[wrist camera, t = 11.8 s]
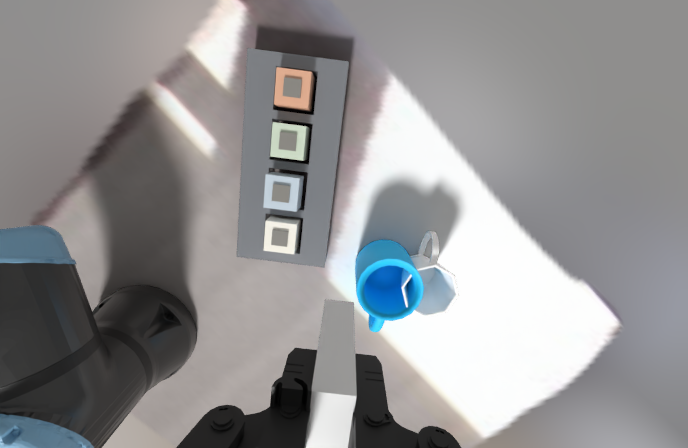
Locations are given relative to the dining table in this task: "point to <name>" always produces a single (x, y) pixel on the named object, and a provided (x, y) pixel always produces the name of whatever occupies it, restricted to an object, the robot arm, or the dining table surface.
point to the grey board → (260, 163)
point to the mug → (386, 282)
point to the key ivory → (282, 234)
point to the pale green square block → (289, 141)
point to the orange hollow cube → (294, 89)
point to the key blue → (283, 191)
